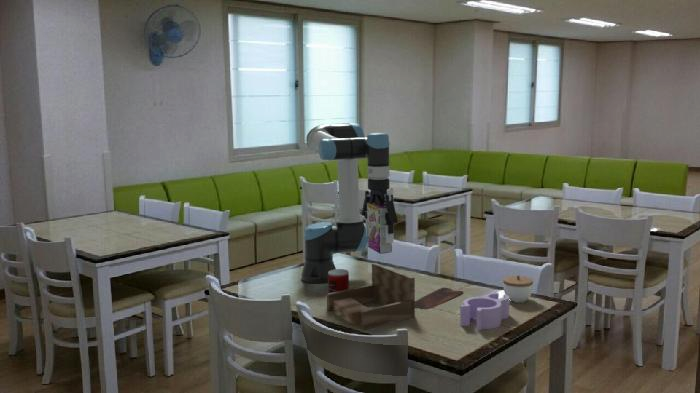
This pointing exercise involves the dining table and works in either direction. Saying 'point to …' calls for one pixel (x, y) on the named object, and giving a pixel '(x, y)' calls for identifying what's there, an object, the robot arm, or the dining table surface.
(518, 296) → the lidded jar
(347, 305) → the offcut upper
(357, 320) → the offcut lower
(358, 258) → the dining table surface
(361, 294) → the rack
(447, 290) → the wooden tablet
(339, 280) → the canned food
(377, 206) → the candy bar box
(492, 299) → the clip
